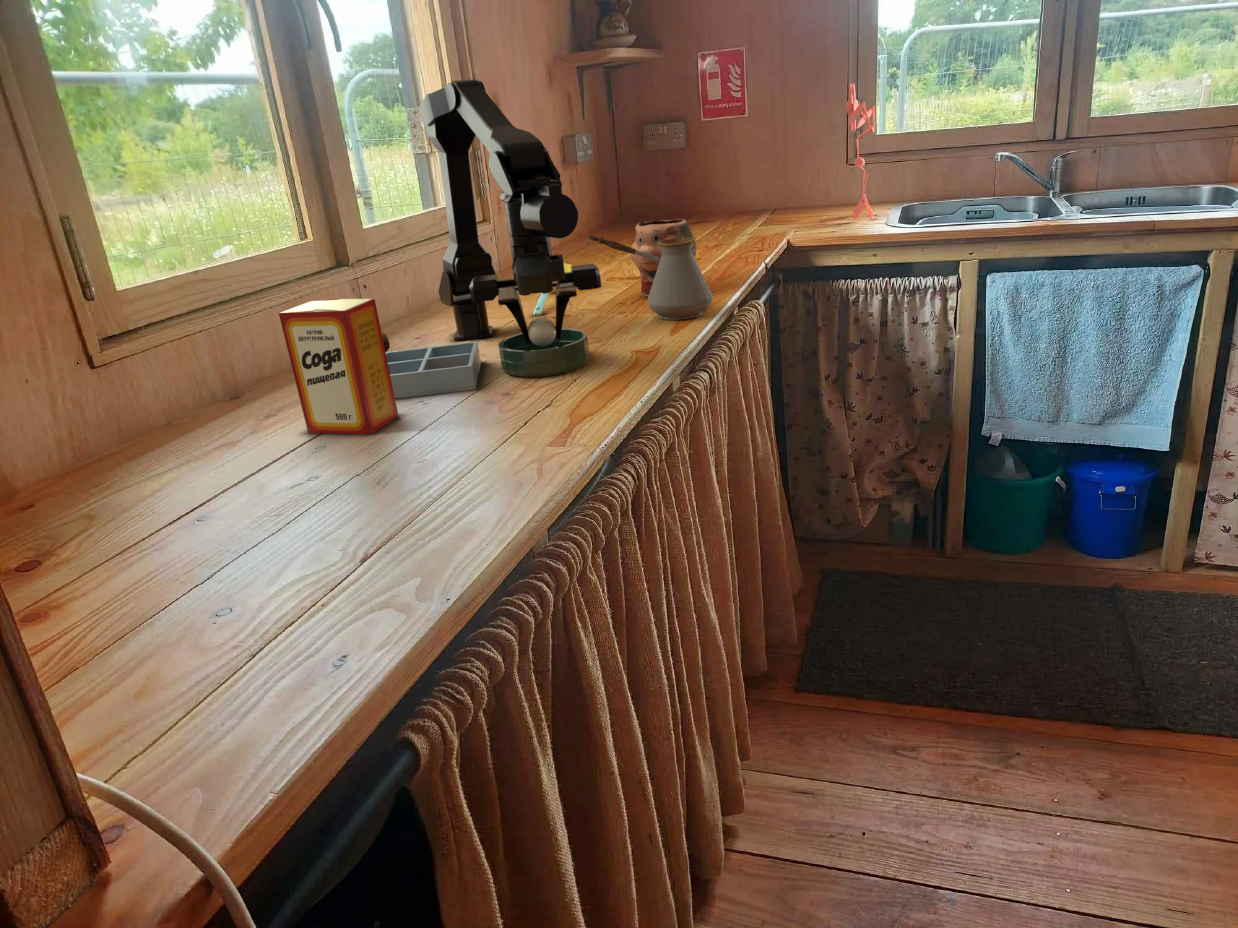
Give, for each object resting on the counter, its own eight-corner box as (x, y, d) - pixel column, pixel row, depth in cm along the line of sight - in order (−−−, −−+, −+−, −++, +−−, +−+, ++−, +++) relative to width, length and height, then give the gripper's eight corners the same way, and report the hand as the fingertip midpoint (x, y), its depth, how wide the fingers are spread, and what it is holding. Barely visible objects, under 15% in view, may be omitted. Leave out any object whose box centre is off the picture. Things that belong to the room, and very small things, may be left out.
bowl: (504, 359, 137) (500, 334, 136) (587, 349, 138) (584, 324, 136) (501, 382, 125) (497, 355, 124) (592, 371, 126) (589, 344, 124)
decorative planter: (653, 282, 185) (647, 215, 179) (709, 280, 181) (705, 211, 175) (623, 304, 167) (616, 229, 162) (685, 302, 163) (680, 226, 158)
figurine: (876, 211, 254) (878, 80, 240) (876, 224, 231) (878, 80, 218) (822, 214, 258) (821, 86, 245) (817, 227, 235) (815, 86, 222)
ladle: (580, 281, 189) (578, 256, 186) (562, 338, 167) (559, 311, 164) (540, 283, 190) (537, 258, 187) (517, 339, 169) (513, 312, 165)
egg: (530, 342, 133) (526, 315, 131) (557, 339, 133) (554, 312, 131) (530, 351, 128) (526, 323, 126) (558, 348, 128) (554, 319, 126)
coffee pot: (715, 305, 158) (710, 220, 152) (711, 320, 148) (706, 230, 142) (600, 313, 162) (591, 230, 156) (588, 328, 151) (578, 240, 146)
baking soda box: (308, 432, 112) (277, 310, 106) (337, 415, 118) (310, 298, 112) (371, 433, 109) (344, 307, 103) (398, 416, 115) (374, 295, 109)
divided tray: (387, 373, 136) (383, 352, 135) (481, 362, 137) (477, 341, 136) (371, 401, 123) (366, 378, 121) (475, 389, 123) (471, 365, 122)
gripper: (459, 249, 116) (477, 361, 122) (598, 233, 117) (609, 346, 123) (465, 238, 127) (481, 342, 132) (592, 224, 128) (603, 328, 133)
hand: (543, 340), depth 130 cm, fingers closed on egg, 4 cm apart
